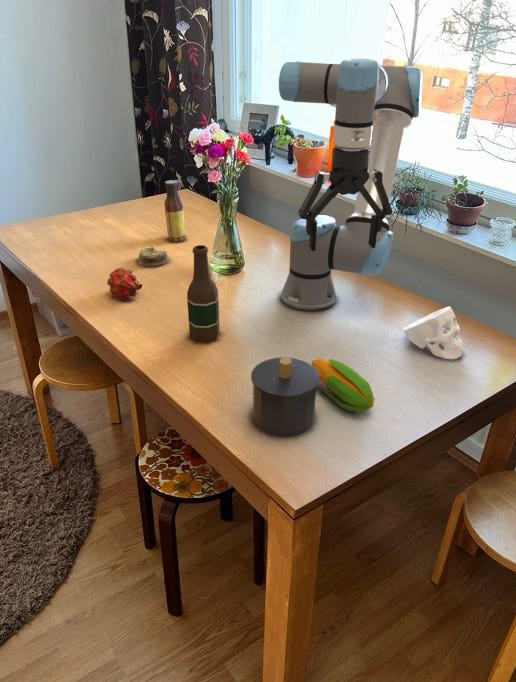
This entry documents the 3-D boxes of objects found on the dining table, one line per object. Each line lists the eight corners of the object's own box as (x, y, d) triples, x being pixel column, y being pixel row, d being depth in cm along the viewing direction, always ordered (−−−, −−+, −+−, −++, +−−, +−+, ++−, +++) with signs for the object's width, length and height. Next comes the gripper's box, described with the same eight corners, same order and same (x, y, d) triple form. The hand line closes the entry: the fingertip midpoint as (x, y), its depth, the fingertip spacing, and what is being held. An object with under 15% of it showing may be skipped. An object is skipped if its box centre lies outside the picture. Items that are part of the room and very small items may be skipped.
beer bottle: (225, 333, 152) (223, 245, 138) (208, 346, 147) (204, 256, 133) (201, 325, 155) (196, 238, 142) (183, 338, 150) (176, 249, 136)
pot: (249, 401, 128) (249, 363, 122) (306, 397, 129) (308, 359, 124) (258, 439, 118) (258, 399, 112) (319, 433, 119) (322, 393, 113)
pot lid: (247, 364, 123) (246, 345, 120) (310, 359, 124) (311, 340, 122) (256, 403, 112) (256, 383, 109) (325, 397, 113) (327, 377, 111)
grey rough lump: (156, 271, 185) (153, 255, 181) (132, 264, 189) (128, 249, 186) (175, 258, 191) (173, 242, 188) (151, 252, 195) (149, 237, 192)
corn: (358, 394, 117) (300, 349, 131) (353, 424, 121) (296, 378, 135) (386, 384, 121) (326, 342, 134) (379, 414, 125) (322, 370, 139)
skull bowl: (456, 364, 138) (439, 315, 135) (408, 370, 149) (392, 326, 147) (478, 347, 144) (462, 300, 142) (430, 355, 155) (415, 312, 153)
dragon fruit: (117, 291, 175) (137, 311, 169) (94, 283, 168) (114, 303, 162) (131, 267, 173) (152, 286, 167) (109, 257, 166) (130, 277, 160)
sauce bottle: (189, 238, 206) (185, 180, 195) (178, 244, 202) (174, 185, 190) (175, 234, 209) (170, 177, 198) (163, 240, 205) (158, 182, 193)
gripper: (294, 153, 114) (290, 256, 126) (417, 149, 117) (401, 250, 129) (287, 144, 120) (283, 243, 132) (404, 140, 123) (390, 238, 135)
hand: (342, 247), depth 130 cm, fingers open, 13 cm apart
